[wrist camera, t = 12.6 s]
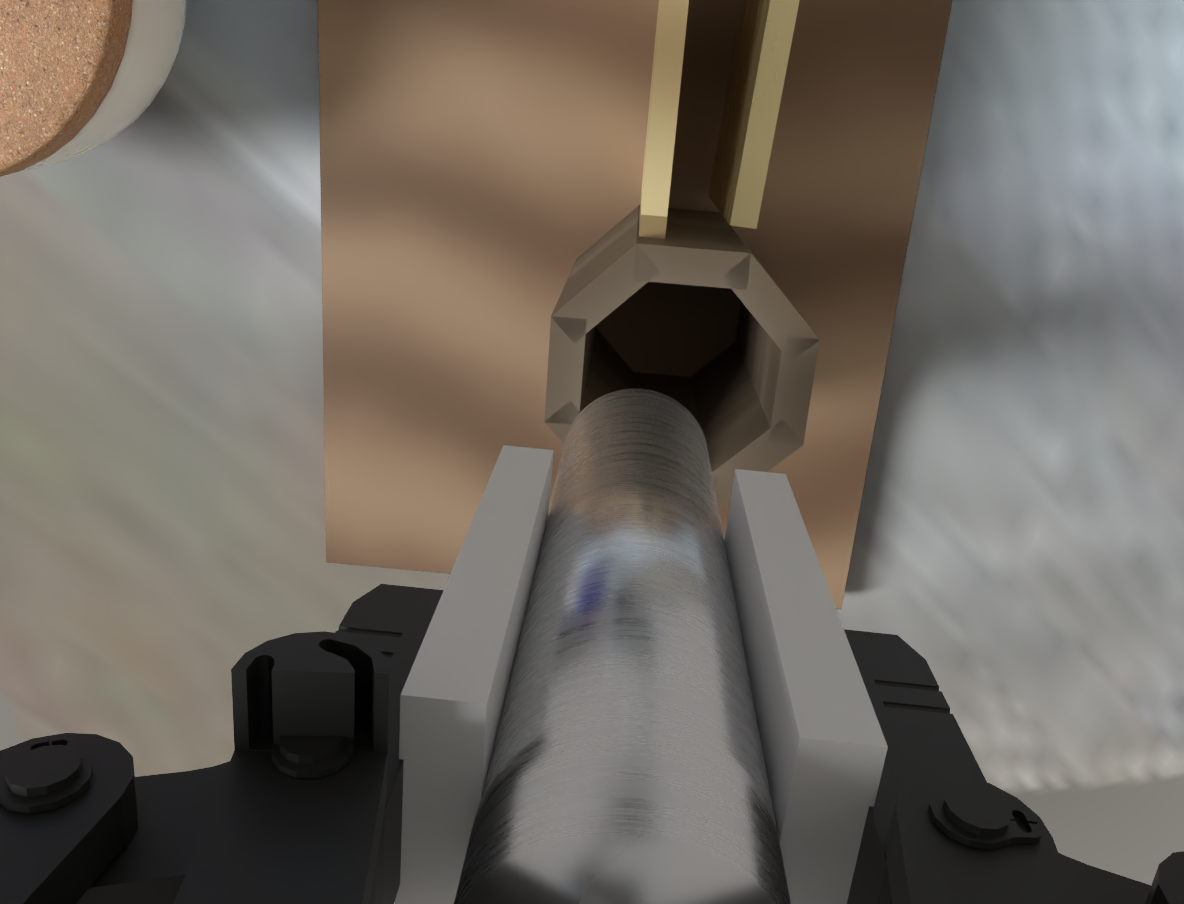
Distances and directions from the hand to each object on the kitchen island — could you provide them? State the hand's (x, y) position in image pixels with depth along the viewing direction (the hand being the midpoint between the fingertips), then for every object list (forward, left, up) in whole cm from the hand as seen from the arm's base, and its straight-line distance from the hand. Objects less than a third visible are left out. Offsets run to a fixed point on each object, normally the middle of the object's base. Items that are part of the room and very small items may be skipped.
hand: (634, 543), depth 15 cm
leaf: (-7, +2, -17) cm, 18 cm away
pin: (0, 0, -4) cm, 4 cm away
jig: (-2, -1, -18) cm, 18 cm away
